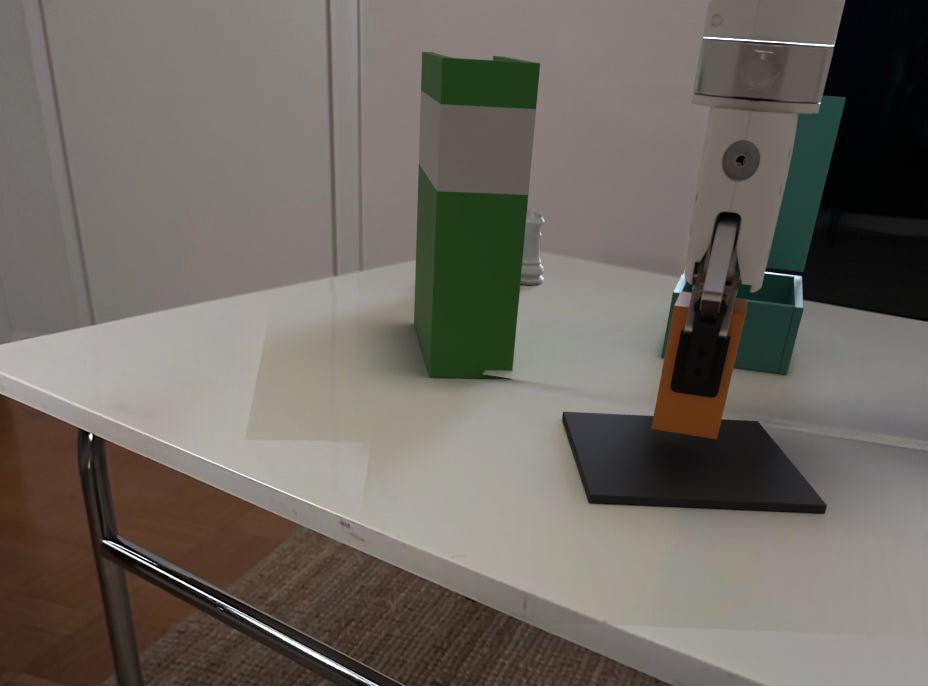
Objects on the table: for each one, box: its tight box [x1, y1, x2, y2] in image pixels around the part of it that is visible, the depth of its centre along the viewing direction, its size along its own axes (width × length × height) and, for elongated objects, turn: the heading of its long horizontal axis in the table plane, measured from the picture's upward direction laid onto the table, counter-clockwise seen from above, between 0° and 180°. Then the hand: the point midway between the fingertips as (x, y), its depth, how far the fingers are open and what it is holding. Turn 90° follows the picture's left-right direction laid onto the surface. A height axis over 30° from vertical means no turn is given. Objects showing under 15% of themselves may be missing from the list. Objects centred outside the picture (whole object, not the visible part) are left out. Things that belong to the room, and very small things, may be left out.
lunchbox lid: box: [766, 95, 847, 273], centre depth 91 cm, size 15×12×1 cm
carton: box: [651, 291, 748, 439], centre depth 64 cm, size 5×5×8 cm
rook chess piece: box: [520, 209, 546, 286], centre depth 113 cm, size 4×4×8 cm
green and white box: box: [413, 51, 541, 380], centre depth 83 cm, size 18×7×24 cm, turn 6°
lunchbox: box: [660, 268, 805, 376], centre depth 91 cm, size 15×12×7 cm
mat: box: [561, 411, 828, 514], centre depth 68 cm, size 16×16×1 cm
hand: (697, 379), depth 65 cm, fingers closed on carton, 4 cm apart
